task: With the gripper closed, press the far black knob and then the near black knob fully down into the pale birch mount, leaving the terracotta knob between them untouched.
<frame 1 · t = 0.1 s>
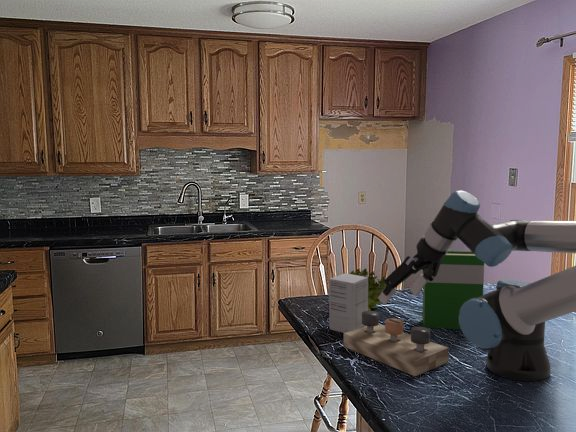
hand: (397, 296, 146), 15 cm above the table, tool tilted 35°, fingers open, 13 cm apart
supplement box: (348, 329, 165), on the table
pomegranate: (492, 343, 151), on the table
orange knob middle: (394, 332, 143), point 6 cm above the table, slide at 0.0 cm
hardback book: (451, 325, 167), on the table
black knob near: (420, 342, 136), point 6 cm above the table, slide at 0.0 cm
black knob far: (370, 325, 150), point 6 cm above the table, slide at 0.0 cm
mount: (393, 353, 144), on the table
green leafy plant: (366, 308, 186), on the table
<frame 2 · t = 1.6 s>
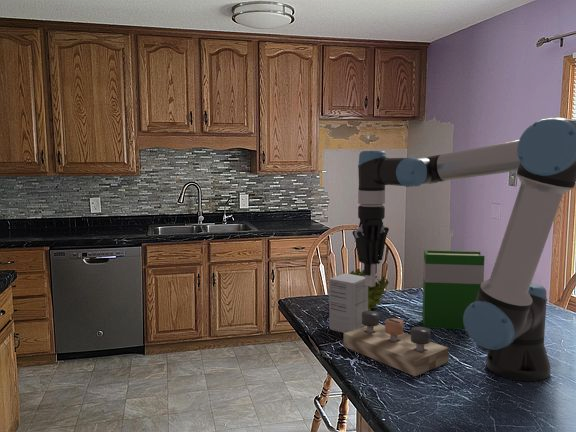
hand: (370, 285, 149), 18 cm above the table, tool pointing down, fingers closed
nothing on the table moved.
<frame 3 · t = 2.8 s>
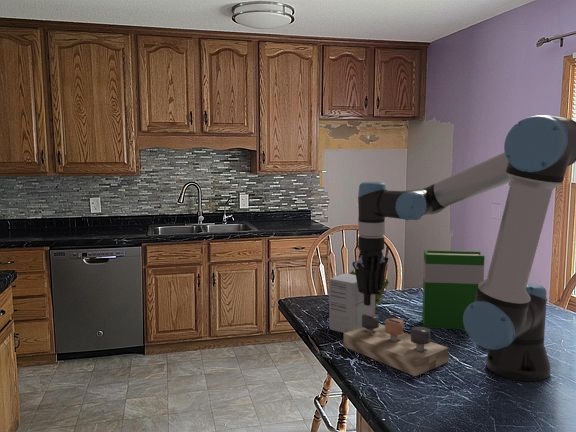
hand: (369, 315, 150), 9 cm above the table, tool pointing down, fingers closed
black knob far: (370, 327, 150), point 5 cm above the table, slide at 0.8 cm, touching gripper
everything else where it was.
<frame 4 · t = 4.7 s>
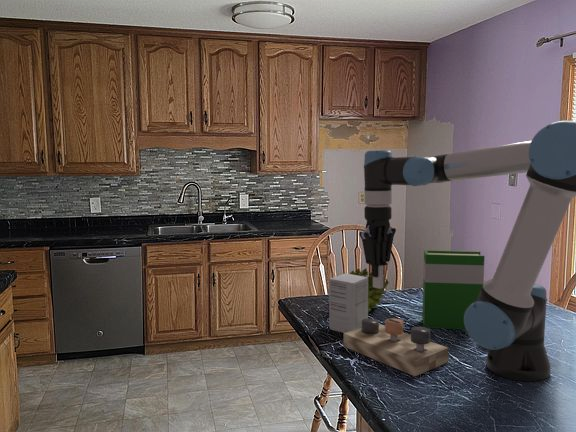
hand: (378, 287, 147), 18 cm above the table, tool pointing down, fingers closed
black knob far: (370, 332, 150), point 4 cm above the table, slide at 2.4 cm
everything else where it was.
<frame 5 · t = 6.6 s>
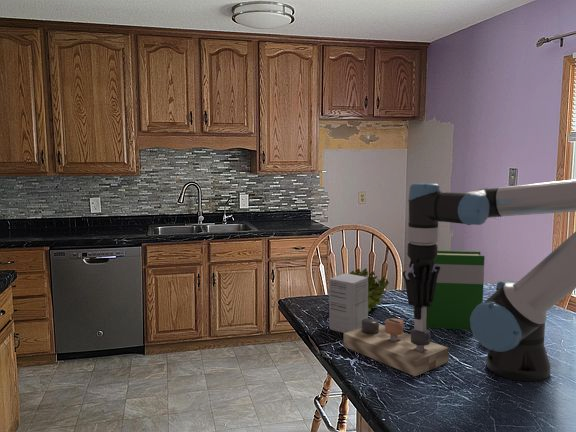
hand: (420, 329, 136), 9 cm above the table, tool pointing down, fingers closed
black knob near: (420, 343, 136), point 6 cm above the table, slide at 0.3 cm, touching gripper
everything else where it was.
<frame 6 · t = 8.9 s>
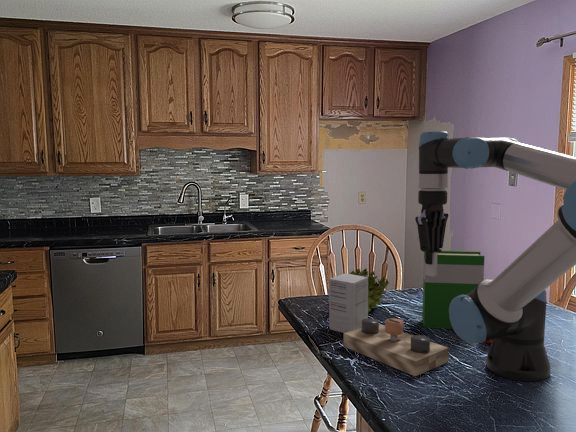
hand: (431, 275, 140), 23 cm above the table, tool pointing down, fingers closed
black knob near: (420, 351, 136), point 4 cm above the table, slide at 2.4 cm
everything else where it was.
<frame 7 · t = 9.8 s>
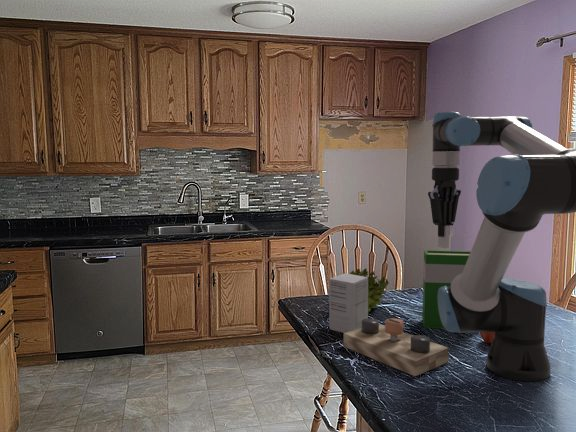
hand: (443, 247, 150), 28 cm above the table, tool pointing down, fingers closed
nothing on the table moved.
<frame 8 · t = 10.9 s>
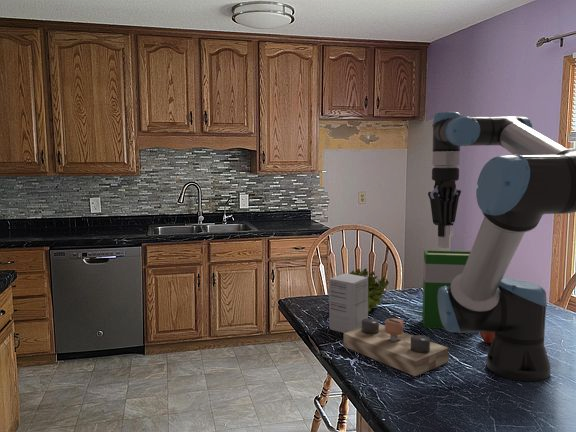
hand: (443, 247, 150), 28 cm above the table, tool pointing down, fingers closed
nothing on the table moved.
at the end: black knob far slide at 2.4 cm; black knob near slide at 2.4 cm; orange knob middle slide at 0.0 cm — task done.
